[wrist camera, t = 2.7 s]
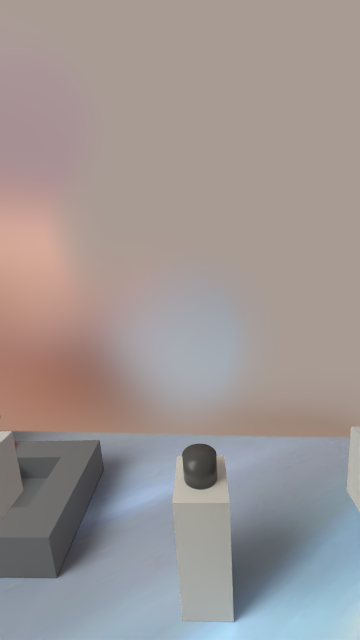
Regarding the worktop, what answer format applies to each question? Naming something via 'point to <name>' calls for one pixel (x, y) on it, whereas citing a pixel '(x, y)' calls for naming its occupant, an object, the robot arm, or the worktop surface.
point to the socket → (48, 505)
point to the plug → (203, 535)
